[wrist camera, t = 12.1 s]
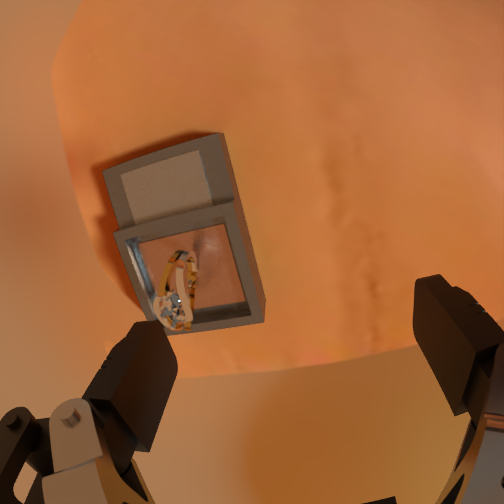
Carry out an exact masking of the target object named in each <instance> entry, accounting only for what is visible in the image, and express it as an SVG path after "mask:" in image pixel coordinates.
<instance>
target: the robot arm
mask: <svg viewBox="0 0 504 504" xmlns="http://www.w3.org/2000/svg"><path fill="white" fill-rule="evenodd" d="M413 331H414V335H415V338H416V341H417V343H418V344H419V346H420V348H421V350H422V352H423V353H424V356H425V357H426V359H427V361H428V363H429V365H430V367H431V369H432V371H433V373H434V375H435V377H436V379H437V381H438V382H439V384H440V387H441V389H442V391H443V392H444V394H445V397H446V399H447V401H448V403H449V405H450V407H451V409H452V412H453V413H454V416H457V415H460V414H463V413H465V412H469V414H470V416H471V419H470V421H469V424H468V427H467V430H466V433H465V436H464V439H463V442H462V445H461V448H460V451H459V454H458V457H457V459H456V462H455V464H454V467H453V470H452V472H451V474H450V477H449V479H448V481H447V483H446V485H445V487H444V489H443V491H442V492H441V494H440V496H439V498H438V500H437V502H436V503H435V504H504V331H503V330H502V329H501V327H500V326H499V325H498V324H497V323H496V322H495V321H494V319H493V318H492V317H491V316H490V315H489V314H488V313H487V312H485V309H484V308H483V307H482V306H481V305H480V304H479V305H478V302H477V301H476V300H475V299H474V297H473V296H472V295H471V294H470V293H468V292H466V291H464V290H463V289H461V288H459V287H457V286H455V287H452V286H451V285H450V284H449V283H448V282H447V281H446V280H445V279H444V278H443V277H442V276H441V275H440V274H436V275H432V276H428V277H423V278H419V279H417V280H416V282H415V290H414V310H413ZM106 359H107V360H105V361H104V362H103V364H102V366H101V369H99V370H98V372H97V373H96V375H95V377H94V378H93V380H92V382H91V383H90V385H89V386H88V388H87V390H86V391H85V393H84V395H83V396H82V398H81V399H79V398H76V399H70V400H68V401H65V402H64V403H62V404H60V405H59V406H58V407H57V408H56V409H55V410H54V411H53V413H52V415H51V417H50V418H44V419H35V417H34V416H33V415H32V414H31V412H30V411H29V410H28V409H27V408H25V407H17V408H14V409H12V410H10V411H9V412H7V413H6V414H5V416H4V417H3V418H2V419H1V421H0V504H22V503H21V502H20V501H19V500H17V498H16V497H15V495H14V492H13V487H14V483H15V481H16V479H17V477H18V475H19V473H20V471H21V469H22V467H23V465H24V463H25V461H26V462H27V463H28V464H29V465H30V466H31V467H32V468H33V469H34V470H35V471H36V472H37V476H36V478H35V480H34V482H33V485H32V487H31V489H30V491H29V494H28V496H27V498H26V501H25V503H24V504H155V502H154V500H153V498H152V496H151V494H150V492H149V490H148V488H147V486H146V484H145V481H144V479H143V477H142V475H141V473H140V471H139V468H138V466H137V464H136V462H135V460H134V459H133V458H132V456H133V454H134V451H141V452H150V449H151V446H152V443H153V441H154V438H155V435H156V432H157V429H158V426H159V423H160V420H161V418H162V415H163V412H164V409H165V406H166V403H167V401H168V398H169V395H170V392H171V390H172V387H173V384H174V381H175V379H176V376H177V371H178V364H177V359H176V356H175V354H174V352H173V349H172V347H171V345H170V342H169V340H168V338H167V336H166V333H165V331H164V329H163V326H162V324H161V323H160V322H159V321H158V320H151V321H141V322H136V323H134V324H133V326H132V328H131V329H130V331H129V332H128V334H127V335H126V337H125V338H123V339H122V340H121V341H120V342H119V343H118V344H116V345H115V346H114V347H113V348H112V350H111V351H110V353H109V355H108V356H107V358H106ZM364 504H397V503H396V499H395V496H394V497H390V498H386V499H381V500H377V501H373V502H368V503H364Z"/></svg>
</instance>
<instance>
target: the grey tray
mask: <svg viewBox="0 0 504 504" xmlns="http://www.w3.org/2000/svg"><path fill="white" fill-rule="evenodd" d="M102 173H103V176H104V180H105V183H106V187H107V190H108V193H109V197H110V200H111V203H112V206H113V210H114V213H115V216H116V219H117V222H118V225H119V229H117V230H116V231H114V232H113V235H114V238H115V241H116V243H117V246H118V249H119V252H120V255H121V257H122V260H123V263H124V265H125V268H126V270H127V273H128V276H129V278H130V281H131V283H132V286H133V288H134V291H135V293H136V296H137V298H138V300H139V303H140V305H141V308H142V310H143V312H144V314H145V317H146V319H147V321H151V320H158V321H159V322H160V320H159V319H158V318H157V316H156V314H155V312H154V309H153V302H154V299H155V298H156V297H157V296H158V291H159V285H160V281H161V277H162V274H163V271H164V268H165V266H166V264H167V262H168V260H169V259H170V257H171V256H172V255H173V254H174V253H175V252H176V251H177V250H179V249H186V250H192V251H194V252H195V254H196V258H197V269H198V277H197V286H196V298H195V307H194V315H193V323H192V330H191V331H186V330H185V327H184V328H183V329H182V330H181V331H174V330H169V329H167V328H166V327H165V326H164V325H163V324H162V323H161V322H160V323H161V324H162V326H163V329H164V331H165V333H166V336H169V335H178V334H186V333H194V332H202V331H209V330H217V329H224V328H231V327H237V326H244V325H250V324H257V323H263V322H264V318H265V303H266V299H265V295H264V291H263V287H262V283H261V279H260V275H259V271H258V267H257V263H256V259H255V255H254V251H253V247H252V243H251V239H250V235H249V231H248V227H247V223H246V220H245V216H244V212H243V208H242V204H241V200H240V196H239V192H238V188H237V184H236V180H235V176H234V172H233V168H232V164H231V160H230V156H229V153H228V149H227V145H226V141H225V137H224V133H216V134H212V135H208V136H205V137H201V138H198V139H194V140H191V141H187V142H184V143H181V144H178V145H174V146H171V147H168V148H165V149H162V150H159V151H156V152H153V153H150V154H147V155H144V156H141V157H138V158H135V159H132V160H130V161H127V162H124V163H121V164H119V165H116V166H113V167H111V168H108V169H106V170H103V171H102ZM176 269H177V266H176V268H175V270H174V272H173V275H172V279H171V284H170V290H171V289H175V290H176V292H177V293H178V291H177V286H176ZM187 272H188V265H187V262H186V265H185V268H184V276H183V280H184V288H185V292H186V296H187V288H188V279H187ZM163 304H164V302H162V305H163ZM165 308H166V307H165ZM165 308H164V309H165ZM181 308H182V310H183V307H182V305H181ZM183 311H184V310H183ZM169 318H170V319H171V320H172V319H173V315H172V316H169Z"/></svg>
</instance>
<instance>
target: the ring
mask: <svg viewBox="0 0 504 504" xmlns="http://www.w3.org/2000/svg"><path fill="white" fill-rule="evenodd" d="M186 262H187V265H188V272H187V279H188V288H187V296H186V292H185V288H184V280H183V276H184V268H185V265H186ZM176 266H177V269H176V286H177V291H178V293H177V292H176V290H175V289H171V290H170V284H171V279H172V275H173V272H174V270H175V268H176ZM197 277H198V269H197V258H196V254H195V252H194V251H192V250H186V249H179V250H177V251H176V252H175V253H174V254H173V255H172V256H171V257H170V259H169V260H168V262H167V264H166V266H165V268H164V271H163V274H162V277H161V281H160V285H159V291H158V296H157V297H156V298H155V299H154V302H153V309H154V312H155V314H156V316H157V318H158V319H159V320H160V322H161V323H162V324H163V325H164V326H165V327H166V328H167V329H169V330H174V331H181V330H182V329H183V328H184V327H185V330H186V331H191V330H192V323H193V315H194V307H195V298H196V286H197ZM162 302H164V304H163V305H162ZM181 305H182V307H183V310H184V311H183V310H182V308H181ZM165 307H166V308H165ZM164 308H165V309H164ZM172 315H173V319H172V320H171V319H170V318H169V316H172Z"/></svg>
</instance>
